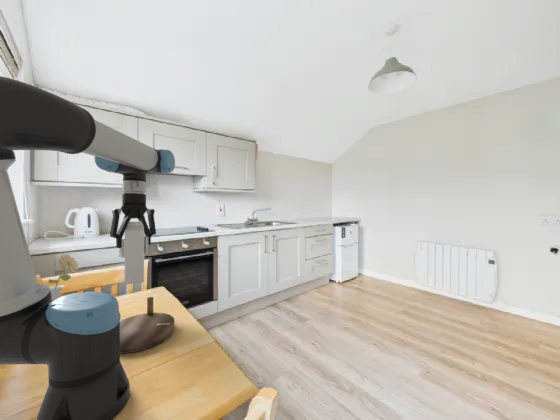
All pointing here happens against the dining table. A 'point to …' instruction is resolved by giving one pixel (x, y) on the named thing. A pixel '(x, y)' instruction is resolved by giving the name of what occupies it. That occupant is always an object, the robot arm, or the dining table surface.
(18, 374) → the dining table surface
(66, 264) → the flower in vase
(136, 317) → the turntable
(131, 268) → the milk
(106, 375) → the robot arm
